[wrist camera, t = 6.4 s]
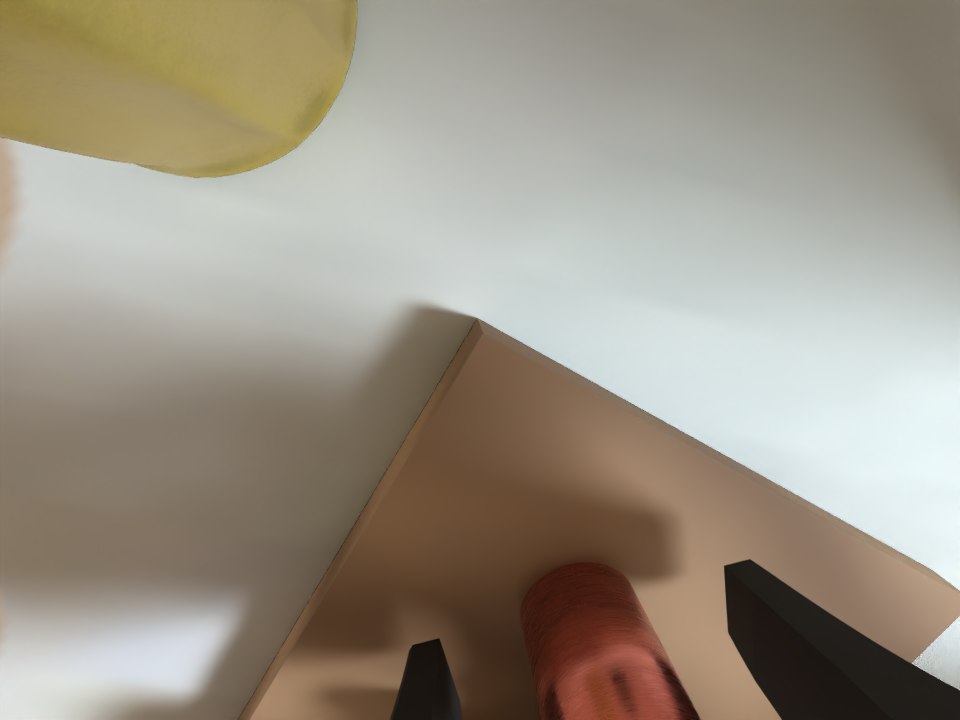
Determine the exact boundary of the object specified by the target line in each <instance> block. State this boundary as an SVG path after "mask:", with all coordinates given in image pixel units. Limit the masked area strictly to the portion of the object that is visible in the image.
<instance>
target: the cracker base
mask: <svg viewBox="0 0 960 720" xmlns="http://www.w3.org/2000/svg"><path fill="white" fill-rule="evenodd" d="M748 559H751V560H752V561H754V562H755V563H757V564H758V565H760V566H761V567H763V568H764V569H766V570H767V571H768V572H770V573H771V574H773V575H774V576H776V577H777V578H779V579H780V580H782V581H783V582H784V583H786V584H787V585H789V586H790V587H792V588H793V589H795V590H796V591H798V592H799V593H800V594H802V595H803V596H805V597H806V598H808V599H809V600H811V601H812V602H814V603H815V604H817V605H818V606H820V607H821V608H823V609H824V610H826V611H827V612H829V613H830V614H832V615H833V616H835V617H837V618H838V619H840V620H841V621H843V622H844V623H846V624H848V625H849V626H851V627H852V628H854V629H855V630H857V631H858V632H860V633H862V634H863V635H865V636H866V637H868V638H870V639H871V640H873V641H874V642H876V643H878V644H879V645H881V646H883V647H884V648H886V649H887V650H889V651H891V652H893V653H894V654H896V655H898V656H899V657H901V658H903V659H904V660H906V661H908V662H909V663H912V662H913V661H914V660H915V659H916V658H917V657H918V656H919V655H920V654H921V653H922V652H923V651H924V650H925V649H926V648H927V647H928V646H929V645H930V644H931V643H932V642H933V641H934V640H935V639H936V638H937V637H938V636H940V635H941V634H942V633H943V632H944V631H945V630H946V629H947V628H948V627H949V626H950V625H951V624H952V623H953V622H954V621H955V620H956V619H957V618H958V617H959V616H960V591H959V590H958V589H957V588H955V587H954V586H953V585H951V584H950V583H949V582H947V581H946V580H945V579H943V578H942V577H941V576H939V575H938V574H937V573H935V572H934V571H933V570H931V569H929V568H927V567H925V566H924V565H922V564H920V563H918V562H916V561H915V560H913V559H911V558H909V557H907V556H905V555H904V554H902V553H900V552H898V551H896V550H895V549H893V548H891V547H889V546H887V545H886V544H884V543H882V542H880V541H878V540H877V539H875V538H873V537H871V536H869V535H868V534H866V533H864V532H862V531H860V530H859V529H857V528H855V527H853V526H851V525H850V524H848V523H846V522H844V521H842V520H841V519H839V518H837V517H835V516H833V515H831V514H830V513H828V512H826V511H824V510H822V509H821V508H819V507H817V506H815V505H813V504H812V503H810V502H808V501H806V500H804V499H803V498H801V497H799V496H797V495H795V494H794V493H792V492H790V491H788V490H786V489H785V488H783V487H781V486H779V485H777V484H776V483H774V482H772V481H770V480H768V479H767V478H765V477H763V476H761V475H759V474H758V473H756V472H754V471H752V470H750V469H748V468H747V467H745V466H743V465H741V464H739V463H738V462H736V461H734V460H732V459H730V458H729V457H727V456H725V455H723V454H721V453H720V452H718V451H716V450H714V449H712V448H711V447H709V446H707V445H705V444H703V443H702V442H700V441H698V440H696V439H694V438H693V437H691V436H689V435H687V434H685V433H684V432H682V431H680V430H678V429H676V428H674V427H673V426H671V425H669V424H667V423H665V422H664V421H662V420H660V419H658V418H656V417H655V416H653V415H651V414H649V413H647V412H646V411H644V410H642V409H640V408H638V407H637V406H635V405H633V404H631V403H629V402H628V401H626V400H624V399H622V398H620V397H619V396H617V395H615V394H613V393H611V392H610V391H608V390H606V389H604V388H602V387H600V386H599V385H597V384H595V383H593V382H591V381H590V380H588V379H586V378H584V377H582V376H581V375H579V374H577V373H575V372H573V371H572V370H570V369H568V368H566V367H564V366H563V365H561V364H559V363H557V362H555V361H554V360H552V359H550V358H548V357H546V356H545V355H543V354H541V353H539V352H537V351H536V350H534V349H532V348H530V347H528V346H526V345H525V344H523V343H521V342H519V341H517V340H516V339H514V338H512V337H510V336H508V335H507V334H505V333H503V332H501V331H499V330H498V329H496V328H494V327H492V326H490V325H489V324H487V323H485V322H483V321H481V320H480V319H478V318H477V320H476V322H475V323H474V325H473V327H472V328H471V330H470V332H469V333H468V335H467V337H466V338H465V340H464V342H463V343H462V345H461V347H460V348H459V350H458V352H457V353H456V355H455V357H454V359H453V360H452V362H451V364H450V365H449V367H448V369H447V370H446V372H445V374H444V375H443V377H442V379H441V380H440V382H439V384H438V385H437V387H436V389H435V390H434V392H433V394H432V395H431V397H430V399H429V400H428V402H427V404H426V405H425V407H424V409H423V411H422V412H421V414H420V416H419V417H418V419H417V421H416V422H415V424H414V426H413V427H412V429H411V431H410V432H409V434H408V436H407V437H406V439H405V441H404V442H403V444H402V446H401V447H400V449H399V451H398V452H397V454H396V456H395V457H394V459H393V461H392V463H391V464H390V466H389V468H388V469H387V471H386V473H385V474H384V476H383V478H382V479H381V481H380V483H379V484H378V486H377V488H376V489H375V491H374V493H373V494H372V496H371V498H370V499H369V501H368V503H367V504H366V506H365V508H364V509H363V511H362V513H361V515H360V516H359V518H358V520H357V521H356V523H355V525H354V526H353V528H352V530H351V531H350V533H349V535H348V536H347V538H346V540H345V541H344V543H343V545H342V546H341V548H340V550H339V551H338V553H337V555H336V556H335V558H334V560H333V561H332V563H331V565H330V566H329V568H328V570H327V572H326V573H325V575H324V577H323V578H322V580H321V582H320V583H319V585H318V587H317V588H316V590H315V592H314V593H313V595H312V597H311V598H310V600H309V602H308V603H307V605H306V607H305V608H304V610H303V612H302V613H301V615H300V617H299V618H298V620H297V622H296V624H295V625H294V627H293V629H292V630H291V632H290V634H289V635H288V637H287V639H286V640H285V642H284V644H283V645H282V647H281V649H280V650H279V652H278V654H277V655H276V657H275V659H274V660H273V662H272V664H271V665H270V667H269V669H268V670H267V672H266V674H265V676H264V677H263V679H262V681H261V682H260V684H259V686H258V687H257V689H256V691H255V692H254V694H253V696H252V697H251V699H250V701H249V702H248V704H247V706H246V707H245V709H244V711H243V712H242V714H241V716H240V717H239V719H238V720H390V717H391V714H392V711H393V708H394V704H395V701H396V698H397V695H398V691H399V688H400V684H401V681H402V677H403V673H404V670H405V666H406V662H407V658H408V653H409V650H410V648H411V647H412V645H414V644H418V643H422V642H426V641H430V640H434V639H438V638H440V641H441V644H442V647H443V650H444V653H445V656H446V659H447V662H448V665H449V668H450V671H451V674H452V677H453V681H454V684H455V687H456V690H457V693H458V696H459V699H460V702H461V711H462V720H541V715H540V710H539V706H538V701H537V697H536V692H535V687H534V683H533V678H532V674H531V669H530V665H529V660H528V655H527V651H526V646H525V642H524V637H523V632H522V628H521V623H520V610H521V605H522V603H523V600H524V598H525V596H526V594H527V593H528V591H529V590H530V588H531V587H532V586H533V585H534V584H535V583H536V582H537V581H538V580H539V579H540V578H542V577H543V576H545V575H546V574H548V573H549V572H551V571H553V570H555V569H557V568H560V567H562V566H566V565H569V564H574V563H581V562H594V563H600V564H604V565H608V566H610V567H612V568H614V569H616V570H618V571H619V572H621V573H622V574H623V575H624V576H625V577H626V578H627V579H628V580H629V582H630V584H631V585H632V587H633V589H634V591H635V593H636V595H637V597H638V599H639V601H640V603H641V605H642V607H643V608H644V610H645V612H646V614H647V616H648V618H649V620H650V622H651V624H652V626H653V628H654V630H655V632H656V634H657V635H658V637H659V639H660V641H661V643H662V645H663V647H664V649H665V651H666V653H667V655H668V657H669V659H670V661H671V662H672V664H673V666H674V668H675V670H676V672H677V674H678V676H679V678H680V680H681V682H682V684H683V686H684V688H685V689H686V691H687V693H688V695H689V697H690V699H691V701H692V703H693V705H694V707H695V709H696V711H697V713H698V715H699V716H700V718H701V720H782V719H781V718H780V716H779V715H778V713H777V712H776V711H775V709H774V708H773V706H772V705H771V703H770V702H769V700H768V699H767V698H766V696H765V695H764V693H763V692H762V690H761V689H760V687H759V686H758V685H757V683H756V682H755V680H754V678H753V677H752V675H751V673H750V671H749V670H748V668H747V666H746V664H745V663H744V661H743V659H742V657H741V656H740V654H739V652H738V650H737V648H736V646H735V645H734V643H733V641H732V639H731V637H730V636H729V634H728V626H727V610H726V593H725V577H724V565H728V564H732V563H736V562H740V561H744V560H748Z"/></svg>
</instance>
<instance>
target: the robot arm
mask: <svg viewBox="0 0 960 720" xmlns="http://www.w3.org/2000/svg"><path fill="white" fill-rule="evenodd" d="M724 577H725V593H726V610H727V626H728V634H729V636H730V637H731V639H732V641H733V643H734V645H735V646H736V648H737V650H738V652H739V654H740V656H741V657H742V659H743V661H744V663H745V664H746V666H747V668H748V670H749V671H750V673H751V675H752V677H753V678H754V680H755V682H756V683H757V685H758V686H759V687H760V689H761V690H762V692H763V693H764V695H765V696H766V698H767V699H768V700H769V702H770V703H771V705H772V706H773V708H774V709H775V711H776V712H777V713H778V715H779V716H780V718H781V719H782V720H960V690H958V689H956V688H954V687H952V686H950V685H948V684H947V683H945V682H943V681H941V680H939V679H937V678H936V677H934V676H932V675H930V674H929V673H927V672H925V671H923V670H921V669H920V668H918V667H916V666H915V665H913V664H911V663H909V662H908V661H906V660H904V659H903V658H901V657H899V656H898V655H896V654H894V653H893V652H891V651H889V650H887V649H886V648H884V647H883V646H881V645H879V644H878V643H876V642H874V641H873V640H871V639H870V638H868V637H866V636H865V635H863V634H862V633H860V632H858V631H857V630H855V629H854V628H852V627H851V626H849V625H848V624H846V623H844V622H843V621H841V620H840V619H838V618H837V617H835V616H833V615H832V614H830V613H829V612H827V611H826V610H824V609H823V608H821V607H820V606H818V605H817V604H815V603H814V602H812V601H811V600H809V599H808V598H806V597H805V596H803V595H802V594H800V593H799V592H798V591H796V590H795V589H793V588H792V587H790V586H789V585H787V584H786V583H784V582H783V581H782V580H780V579H779V578H777V577H776V576H774V575H773V574H771V573H770V572H768V571H767V570H766V569H764V568H763V567H761V566H760V565H758V564H757V563H755V562H754V561H752V560H751V559H748V560H744V561H740V562H736V563H732V564H728V565H724ZM390 720H462V711H461V702H460V699H459V696H458V693H457V690H456V687H455V684H454V681H453V677H452V674H451V671H450V668H449V665H448V662H447V659H446V656H445V653H444V650H443V647H442V644H441V641H440V638H438V639H434V640H430V641H426V642H422V643H418V644H414V645H412V647H411V648H410V650H409V653H408V658H407V662H406V666H405V670H404V673H403V677H402V681H401V684H400V688H399V691H398V695H397V698H396V701H395V704H394V708H393V711H392V714H391V717H390Z"/></svg>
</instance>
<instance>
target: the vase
mask: <svg viewBox="0 0 960 720" xmlns="http://www.w3.org/2000/svg"><path fill="white" fill-rule="evenodd" d="M356 25H357V0H0V138H6V139H11V140H15V141H19V142H24V143H28V144H32V145H37V146H41V147H46V148H50V149H55V150H60V151H65V152H69V153H74V154H80V155H85V156H90V157H95V158H100V159H105V160H110V161H116V162H124V163H133V164H136V165H139V166H142V167H145V168H149V169H152V170H156V171H160V172H164V173H171V174H175V175H179V176H186V177H193V178H201V177H222V176H228V175H234V174H238V173H242V172H246V171H250V170H252V169H255V168H258V167H261V166H263V165H266V164H268V163H270V162H272V161H275V160H277V159H279V158H281V157H283V156H284V155H286V154H287V153H289V152H290V151H292V150H293V149H295V148H296V147H298V146H299V145H300V144H301V143H302V142H303V141H304V140H305V139H306V138H307V137H308V136H309V135H310V134H311V133H312V132H313V131H314V130H315V129H316V127H317V126H318V125H319V124H320V123H321V121H322V120H323V118H324V117H325V115H326V114H327V112H328V111H329V109H330V108H331V106H332V104H333V102H334V101H335V99H336V97H337V96H338V94H339V91H340V89H341V87H342V85H343V82H344V80H345V77H346V74H347V72H348V69H349V66H350V62H351V58H352V54H353V49H354V43H355V37H356Z"/></svg>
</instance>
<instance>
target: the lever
mask: <svg viewBox="0 0 960 720" xmlns="http://www.w3.org/2000/svg"><path fill="white" fill-rule="evenodd" d="M520 623H521V628H522V632H523V637H524V642H525V646H526V651H527V655H528V660H529V665H530V669H531V674H532V678H533V683H534V687H535V692H536V697H537V701H538V706H539V710H540V715H541V720H701V718H700V716H699V715H698V713H697V711H696V709H695V707H694V705H693V703H692V701H691V699H690V697H689V695H688V693H687V691H686V689H685V688H684V686H683V684H682V682H681V680H680V678H679V676H678V674H677V672H676V670H675V668H674V666H673V664H672V662H671V661H670V659H669V657H668V655H667V653H666V651H665V649H664V647H663V645H662V643H661V641H660V639H659V637H658V635H657V634H656V632H655V630H654V628H653V626H652V624H651V622H650V620H649V618H648V616H647V614H646V612H645V610H644V608H643V607H642V605H641V603H640V601H639V599H638V597H637V595H636V593H635V591H634V589H633V587H632V585H631V584H630V582H629V580H628V579H627V578H626V577H625V576H624V575H623V574H622V573H621V572H619V571H618V570H616V569H614V568H612V567H610V566H608V565H604V564H600V563H594V562H581V563H574V564H569V565H566V566H562V567H560V568H557V569H555V570H553V571H551V572H549V573H548V574H546V575H545V576H543V577H542V578H540V579H539V580H538V581H537V582H536V583H535V584H534V585H533V586H532V587H531V588H530V590H529V591H528V593H527V594H526V596H525V598H524V600H523V603H522V605H521V610H520Z"/></svg>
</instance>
